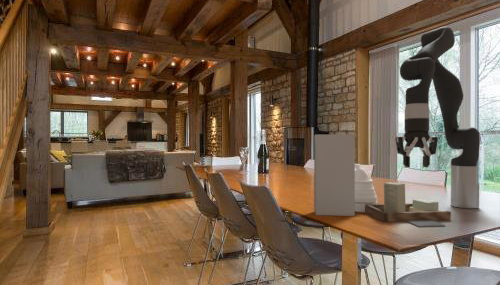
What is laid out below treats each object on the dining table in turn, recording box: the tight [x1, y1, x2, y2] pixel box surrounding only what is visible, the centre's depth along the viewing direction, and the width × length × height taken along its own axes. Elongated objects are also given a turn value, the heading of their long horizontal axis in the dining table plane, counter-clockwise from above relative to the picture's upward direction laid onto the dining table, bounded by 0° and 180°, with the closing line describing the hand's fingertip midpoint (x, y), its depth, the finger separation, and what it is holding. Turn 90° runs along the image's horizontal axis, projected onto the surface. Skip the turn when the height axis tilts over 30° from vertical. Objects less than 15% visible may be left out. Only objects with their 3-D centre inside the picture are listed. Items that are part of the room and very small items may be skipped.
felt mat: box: [405, 220, 446, 228], centre depth 108 cm, size 9×7×1 cm
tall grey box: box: [313, 134, 356, 217], centre depth 123 cm, size 14×6×30 cm, turn 84°
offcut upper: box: [412, 198, 439, 211], centre depth 121 cm, size 5×7×3 cm
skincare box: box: [383, 181, 406, 212], centre depth 120 cm, size 6×4×12 cm
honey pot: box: [355, 163, 378, 213], centre depth 133 cm, size 13×13×18 cm
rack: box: [364, 203, 452, 223], centre depth 120 cm, size 24×15×3 cm, turn 95°
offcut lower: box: [409, 207, 441, 212], centre depth 120 cm, size 7×9×3 cm
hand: (416, 166), depth 111 cm, fingers open, 6 cm apart
